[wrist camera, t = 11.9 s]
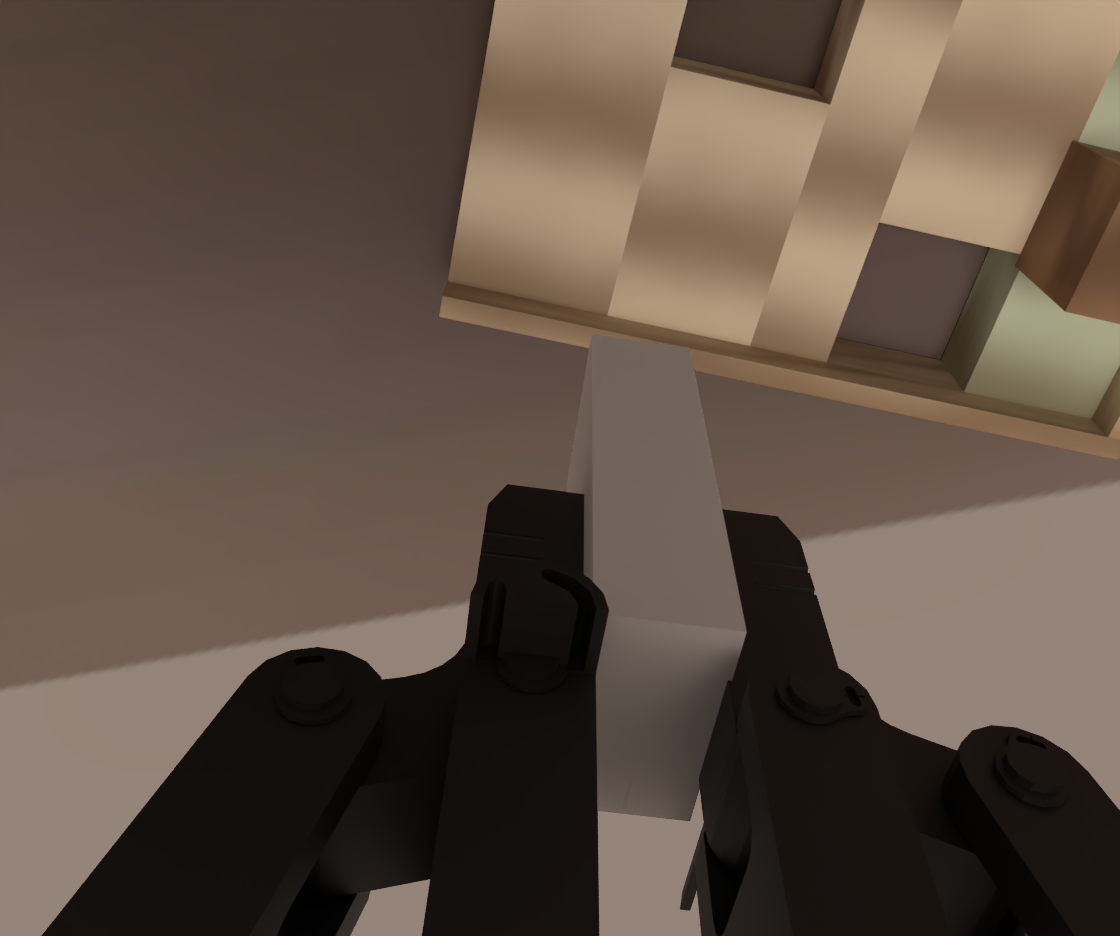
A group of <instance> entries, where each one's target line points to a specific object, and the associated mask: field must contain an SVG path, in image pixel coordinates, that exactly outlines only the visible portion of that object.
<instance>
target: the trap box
mask: <svg viewBox="0 0 1120 936" xmlns="http://www.w3.org/2000/svg"><path fill="white" fill-rule="evenodd" d="M686 4H687V0H495V5H494V11H493V17H492V23H491V29H490V34H489V40H488V46H487V52H486V58H485V64H484V70H483V76H482V82H481V88H480V93H479V99H478V105H477V111H476V117H475V123H474V129H473V135H472V141H471V147H470V153H469V158H468V164H467V170H466V176H465V182H464V188H463V194H462V200H461V206H460V212H459V217H458V223H457V229H456V235H455V241H454V247H453V253H452V259H451V265H450V271H449V277H448V282H447V285H446V288H445V290H444V293H443V296H442V302H441V308H440V314H439V317H443V318H448V319H452V320H457V321H462V322H467V323H471V324H476V325H481V326H486V327H490V328H495V329H500V330H505V331H509V332H514V333H519V334H524V335H528V336H533V337H538V338H543V339H547V340H552V341H557V342H562V343H566V344H571V345H576V346H581V347H585V348H589V347H590V341H591V335H592V334H593V335H601V336H608V337H615V338H623V339H630V340H637V341H644V342H652V343H659V344H666V345H674V346H681V347H688V348H690V351H691V356H692V361H693V366H694V371H699V372H704V373H709V374H713V375H718V376H723V377H728V378H732V379H737V380H742V381H747V382H751V383H756V384H761V385H766V386H770V387H775V388H780V389H785V390H789V391H794V392H799V393H804V394H808V395H813V396H818V397H823V398H827V399H832V400H837V401H842V402H846V403H851V404H856V405H861V406H865V407H870V408H875V409H880V410H884V411H889V412H894V413H898V414H903V415H908V416H913V417H917V418H922V419H927V420H932V421H936V422H941V423H946V424H951V425H955V426H960V427H965V428H970V429H974V430H979V431H984V432H989V433H993V434H998V435H1003V436H1008V437H1012V438H1017V439H1022V440H1027V441H1031V442H1036V443H1041V444H1046V445H1050V446H1055V447H1060V448H1065V449H1069V450H1074V451H1079V452H1084V453H1088V454H1093V455H1098V456H1103V457H1107V458H1112V459H1117V460H1118V459H1119V457H1120V324H1117V323H1112V322H1108V321H1104V320H1099V319H1095V318H1090V317H1086V316H1082V315H1077V314H1073V313H1069V312H1065V311H1064V310H1063V309H1062V308H1060V307H1059V306H1058V305H1057V304H1056V303H1055V302H1054V301H1053V300H1052V299H1051V298H1049V297H1048V296H1047V295H1046V294H1045V293H1044V292H1043V291H1042V290H1041V289H1040V288H1038V287H1037V286H1036V285H1035V284H1034V283H1033V282H1032V281H1031V280H1030V279H1029V278H1027V277H1026V276H1025V275H1024V274H1023V273H1022V272H1021V271H1020V270H1019V269H1018V268H1016V267H1015V264H1016V262H1017V260H1018V258H1019V256H1020V254H1021V251H1022V249H1023V247H1024V245H1025V243H1026V240H1027V238H1028V236H1029V234H1030V232H1031V230H1032V227H1033V225H1034V223H1035V221H1036V219H1037V216H1038V214H1039V212H1040V210H1041V208H1042V206H1043V203H1044V201H1045V199H1046V197H1047V195H1048V192H1049V190H1050V188H1051V186H1052V184H1053V182H1054V179H1055V177H1056V175H1057V173H1058V171H1059V168H1060V166H1061V164H1062V162H1063V160H1064V158H1065V155H1066V153H1067V151H1068V149H1069V147H1070V144H1071V142H1072V140H1074V141H1078V142H1082V143H1086V144H1090V145H1094V146H1098V147H1102V148H1106V149H1111V150H1115V151H1119V152H1120V0H842V2H841V5H840V8H839V11H838V14H837V17H836V21H835V24H834V27H833V30H832V33H831V36H830V39H829V42H828V45H827V48H826V52H825V55H824V58H823V61H822V64H821V67H820V70H819V73H818V76H817V79H816V83H815V86H814V89H813V88H809V87H804V86H800V85H796V84H792V83H787V82H783V81H779V80H775V79H771V78H766V77H762V76H758V75H754V74H749V73H745V72H741V71H737V70H733V69H728V68H724V67H720V66H716V65H711V64H707V63H703V62H699V61H694V60H690V59H686V58H682V57H678V56H673V55H674V51H675V48H676V44H677V40H678V36H679V32H680V28H681V24H682V20H683V16H684V12H685V8H686ZM879 222H880V223H885V224H889V225H894V226H898V227H902V228H907V229H911V230H916V231H920V232H924V233H929V234H933V235H938V236H942V237H947V238H951V239H955V240H960V241H964V242H969V243H973V244H977V245H982V246H986V247H990V249H989V251H988V253H987V255H986V258H985V260H984V262H983V265H982V267H981V269H980V272H979V274H978V276H977V278H976V281H975V283H974V285H973V288H972V290H971V292H970V294H969V297H968V299H967V301H966V304H965V306H964V308H963V311H962V313H961V315H960V317H959V320H958V322H957V324H956V327H955V329H954V331H953V333H952V336H951V338H950V340H949V343H948V345H947V347H946V350H945V352H944V354H943V356H942V359H941V360H938V359H933V358H929V357H924V356H919V355H915V354H910V353H905V352H901V351H896V350H892V349H887V348H882V347H878V346H873V345H868V344H864V343H859V342H854V341H850V340H845V339H841V338H836V336H837V333H838V330H839V328H840V325H841V322H842V320H843V317H844V314H845V312H846V309H847V306H848V304H849V301H850V298H851V296H852V293H853V291H854V288H855V285H856V283H857V280H858V277H859V275H860V272H861V269H862V267H863V264H864V261H865V259H866V256H867V253H868V251H869V248H870V245H871V243H872V240H873V237H874V235H875V232H876V229H877V227H878V224H879Z"/></svg>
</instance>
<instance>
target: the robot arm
mask: <svg viewBox="0 0 1120 936" xmlns="http://www.w3.org/2000/svg"><path fill="white" fill-rule="evenodd" d="M814 590H815V589H814V586H813V582H812V579H811V576H810V573H808V566H807V563H806V559H805V556H804V552H803V549H802V546H801V543H800V541H799V540H798V539H797V537H796V536H795V535H794V534H793V533H792V532H791V531H790V530H789V529H788V527H787V526H786V525H785V524H784V523H783V522H782V521H781V520H780V519H779V518H778V516H770V515H762V514H755V513H747V512H739V511H731V510H724V509H722V506H721V501H720V496H719V491H718V486H717V481H716V476H715V471H714V466H713V461H712V456H711V451H710V446H709V441H708V436H707V431H706V426H705V421H704V416H703V411H702V406H701V401H700V396H699V391H698V386H697V381H696V376H695V371H694V366H693V361H692V356H691V351H690V348H688V347H681V346H674V345H666V344H659V343H652V342H644V341H637V340H630V339H623V338H615V337H608V336H601V335H593V334H592V335H591V341H590V347H589V353H588V359H587V365H586V371H585V377H584V383H583V389H582V395H581V401H580V407H579V413H578V419H577V425H576V431H575V437H574V443H573V449H572V455H571V461H570V467H569V473H568V479H567V485H566V492H563V491H555V490H547V489H540V488H532V487H524V486H517V485H509V484H507V485H506V486H505V488H504V489H503V490H502V491H501V492H500V493H499V494H498V495H497V496H496V497H495V498H494V499H493V500H492V501H491V502H490V503H489V504H488V508H487V515H486V522H485V528H484V535H483V541H482V548H481V555H480V561H479V568H478V574H477V581H476V584H475V586H474V588H473V590H472V592H471V597H470V606H469V614H468V624H467V631H466V640H465V644H464V645H463V646H462V648H461V649H460V650H459V651H458V653H457V654H456V655H455V656H454V657H453V658H451V659H450V660H448V661H447V662H446V663H444V664H443V665H441V666H439V667H437V668H434V669H432V670H430V671H427V672H425V673H421V674H416V675H412V676H407V677H400V678H393V679H384V680H382V679H381V677H380V676H379V675H378V674H377V672H376V671H375V670H374V669H373V668H372V667H371V666H370V665H369V664H368V663H367V662H366V661H364V660H362V659H360V658H358V657H356V656H354V655H351V654H349V653H347V652H345V651H339V650H334V649H326V648H320V647H315V648H307V649H299V650H291V651H288V652H285V653H283V654H281V655H278V656H276V657H273V658H271V659H268V660H266V661H265V662H264V663H262V664H261V665H260V666H259V667H258V668H257V669H255V670H254V671H253V672H252V673H251V674H250V675H248V676H247V678H246V679H245V680H244V681H243V683H242V684H241V685H240V687H239V688H238V689H237V690H236V692H235V693H234V694H233V695H232V697H231V698H230V699H229V700H228V702H227V703H226V704H225V706H224V707H223V708H222V709H221V710H220V712H219V713H218V714H217V715H216V717H215V718H214V719H213V721H212V722H211V723H210V724H209V726H208V727H207V728H206V729H205V731H204V732H203V733H202V734H201V736H200V737H199V738H198V739H197V741H196V742H195V743H194V744H193V746H192V747H191V748H190V749H189V751H188V752H187V753H186V754H185V756H184V757H183V758H182V760H181V761H180V762H179V763H178V765H177V766H176V767H175V768H174V770H173V771H172V772H171V773H170V775H169V776H168V777H167V779H166V780H165V781H164V782H163V784H162V785H161V786H160V787H159V788H158V790H157V791H156V792H155V794H154V795H153V796H152V797H151V799H150V800H149V801H148V802H147V804H146V805H145V806H144V807H143V809H142V810H141V811H140V812H139V814H138V815H137V816H136V817H135V819H134V820H133V821H132V822H131V824H130V825H129V826H128V828H127V829H126V830H125V831H124V833H123V834H122V835H121V836H120V838H119V839H118V840H117V842H116V843H115V844H114V845H113V846H112V848H111V849H110V850H109V851H108V853H107V854H106V855H105V856H104V858H103V859H102V860H101V862H100V863H99V864H98V865H97V867H96V868H95V869H94V870H93V872H92V873H91V874H90V875H89V877H88V878H87V879H86V880H85V882H84V883H83V884H82V885H81V887H80V888H79V889H78V890H77V892H76V893H75V894H74V896H73V897H72V898H71V899H70V901H69V902H68V903H67V904H66V906H65V907H64V908H63V909H62V911H61V912H60V913H59V915H58V916H57V917H56V918H55V920H54V921H53V922H52V923H51V925H50V926H49V927H48V928H47V930H46V931H45V932H44V933H43V935H42V936H350V935H351V933H352V931H353V929H354V927H355V925H356V923H357V921H358V919H359V916H360V915H361V913H362V911H363V908H364V907H365V904H366V903H367V901H368V898H369V894H370V891H371V890H376V889H381V888H387V887H392V886H397V885H402V884H407V883H412V882H418V881H422V880H428V879H430V885H429V892H428V898H427V906H426V912H425V919H424V925H423V933H422V936H599V886H598V812H597V811H605V812H613V813H622V814H631V815H640V816H648V817H657V818H666V819H675V820H684V821H690V819H691V816H692V813H693V809H694V805H695V802H696V799H697V796H698V792H699V789H700V794H701V803H702V811H703V820H704V824H703V827H702V830H701V833H700V837H699V840H698V843H697V846H696V850H695V853H694V856H693V859H692V862H691V866H690V869H689V872H688V875H687V878H686V882H685V885H684V888H683V892H682V899H681V906H680V909H681V910H690V909H691V906H692V903H693V900H694V897H695V894H696V891H697V895H698V905H699V915H700V926H701V936H1120V810H1119V809H1118V808H1117V807H1116V805H1115V804H1114V803H1113V802H1112V801H1111V799H1110V798H1109V797H1108V796H1107V794H1106V793H1105V792H1104V791H1103V789H1102V788H1101V787H1100V786H1099V784H1098V783H1097V782H1096V781H1095V780H1094V778H1093V777H1092V776H1091V775H1090V773H1089V772H1088V771H1087V770H1086V769H1085V768H1084V767H1083V766H1082V765H1080V763H1078V762H1077V761H1076V760H1075V759H1074V758H1073V757H1072V756H1071V755H1070V754H1069V753H1068V752H1067V751H1065V750H1063V749H1062V748H1060V747H1058V746H1057V745H1055V744H1053V743H1052V742H1050V741H1048V740H1047V739H1045V738H1044V737H1041V736H1039V735H1036V734H1033V733H1030V732H1027V731H1024V730H1021V729H1019V728H1015V727H1003V726H992V725H991V726H987V727H984V728H980V729H976V730H973V731H972V732H971V733H970V734H969V735H968V736H967V737H966V738H965V739H964V740H963V741H962V742H961V744H960V746H959V749H958V750H957V751H956V750H953V749H951V748H948V747H945V746H943V745H939V744H937V743H934V742H931V741H928V740H926V739H923V738H920V737H917V736H915V735H912V734H909V733H907V732H905V731H903V730H900V729H898V728H896V727H894V726H891V725H889V724H888V723H886V722H885V721H883V720H881V718H880V715H879V712H878V709H877V707H876V705H875V703H874V702H873V700H872V698H871V696H870V695H869V693H868V691H867V690H866V689H865V688H864V687H863V686H862V685H861V684H860V683H859V682H857V681H856V680H855V679H854V678H853V677H852V676H851V675H850V674H848V673H846V672H844V671H842V670H841V669H839V668H838V665H837V662H836V658H835V655H834V652H833V648H832V645H831V642H830V639H829V635H828V632H827V629H826V625H825V622H824V619H823V615H822V612H821V609H820V605H819V602H818V599H817V596H816V595H814Z"/></svg>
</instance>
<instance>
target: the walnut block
mask: <svg viewBox="0 0 1120 936" xmlns="http://www.w3.org/2000/svg"><path fill="white" fill-rule="evenodd" d="M1015 267H1016V268H1018V269H1019V270H1020V271H1021V272H1022V273H1023V274H1024V275H1025V276H1026V277H1027V278H1029V279H1030V280H1031V281H1032V282H1033V283H1034V284H1035V285H1036V286H1037V287H1038V288H1040V289H1041V290H1042V291H1043V292H1044V293H1045V294H1046V295H1047V296H1048V297H1049V298H1051V299H1052V300H1053V301H1054V302H1055V303H1056V304H1057V305H1058V306H1059V307H1060V308H1062V309H1063V310H1064V311H1065V312H1069V313H1073V314H1077V315H1082V316H1086V317H1090V318H1095V319H1099V320H1104V321H1108V322H1112V323H1117V324H1120V152H1119V151H1115V150H1111V149H1106V148H1102V147H1098V146H1094V145H1090V144H1086V143H1082V142H1078V141H1074V140H1072V142H1071V144H1070V147H1069V149H1068V151H1067V153H1066V155H1065V158H1064V160H1063V162H1062V164H1061V166H1060V168H1059V171H1058V173H1057V175H1056V177H1055V179H1054V182H1053V184H1052V186H1051V188H1050V190H1049V192H1048V195H1047V197H1046V199H1045V201H1044V203H1043V206H1042V208H1041V210H1040V212H1039V214H1038V216H1037V219H1036V221H1035V223H1034V225H1033V227H1032V230H1031V232H1030V234H1029V236H1028V238H1027V240H1026V243H1025V245H1024V247H1023V249H1022V251H1021V254H1020V256H1019V258H1018V260H1017V262H1016V264H1015Z"/></svg>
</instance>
